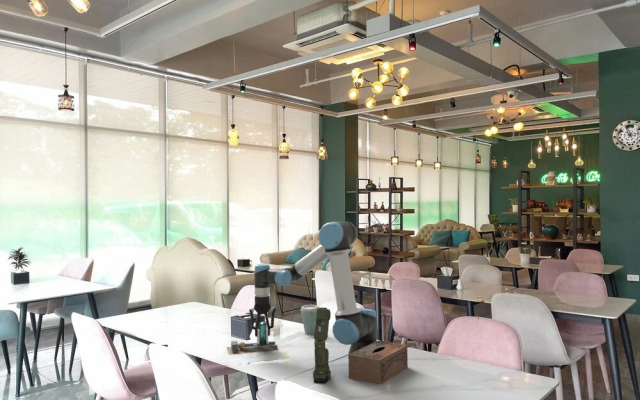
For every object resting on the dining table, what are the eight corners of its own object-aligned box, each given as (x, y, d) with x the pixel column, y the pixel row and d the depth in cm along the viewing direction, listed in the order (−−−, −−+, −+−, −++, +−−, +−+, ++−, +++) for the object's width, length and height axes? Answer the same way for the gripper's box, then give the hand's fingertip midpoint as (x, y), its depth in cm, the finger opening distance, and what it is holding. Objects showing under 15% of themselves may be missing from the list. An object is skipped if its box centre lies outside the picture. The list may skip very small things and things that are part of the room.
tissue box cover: (378, 362, 223) (378, 340, 223) (407, 368, 215) (407, 345, 215) (348, 378, 202) (348, 354, 202) (379, 385, 194) (379, 360, 194)
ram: (268, 344, 246) (267, 321, 246) (269, 346, 241) (269, 323, 242) (252, 345, 244) (252, 322, 244) (253, 347, 239) (253, 324, 240)
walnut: (246, 350, 239) (246, 342, 239) (238, 350, 238) (238, 343, 238) (245, 348, 242) (245, 340, 242) (238, 348, 241) (238, 341, 241)
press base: (273, 345, 251) (273, 336, 251) (278, 352, 238) (278, 342, 238) (226, 349, 245) (226, 339, 245) (228, 357, 232) (228, 347, 232)
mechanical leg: (326, 385, 192) (328, 307, 199) (308, 383, 193) (311, 306, 201) (332, 381, 205) (334, 308, 212) (315, 380, 206) (318, 307, 214)
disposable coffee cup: (319, 335, 270) (319, 308, 271) (300, 335, 271) (299, 308, 271) (319, 330, 281) (319, 304, 281) (301, 330, 281) (300, 304, 282)
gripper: (277, 293, 249) (277, 339, 249) (244, 295, 245) (244, 342, 244) (280, 295, 242) (280, 343, 241) (246, 297, 238) (246, 346, 237)
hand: (262, 342), depth 243 cm, fingers open, 4 cm apart
